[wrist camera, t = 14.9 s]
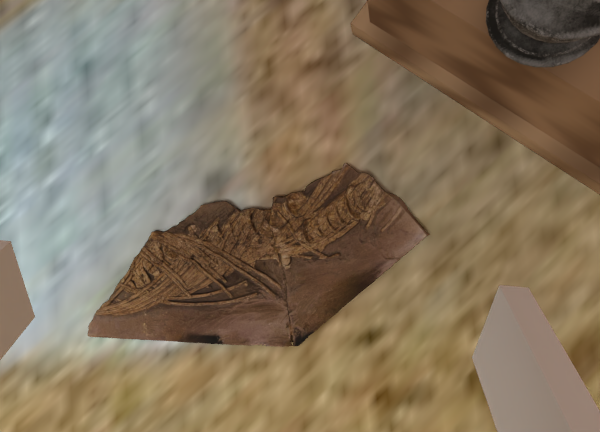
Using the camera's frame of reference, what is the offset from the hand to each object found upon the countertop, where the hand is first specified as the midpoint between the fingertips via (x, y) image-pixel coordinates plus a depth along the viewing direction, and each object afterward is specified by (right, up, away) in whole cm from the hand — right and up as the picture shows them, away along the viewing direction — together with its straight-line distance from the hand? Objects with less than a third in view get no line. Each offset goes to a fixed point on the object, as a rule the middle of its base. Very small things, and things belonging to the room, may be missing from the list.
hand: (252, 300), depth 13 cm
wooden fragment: (-3, -2, +20) cm, 20 cm away
